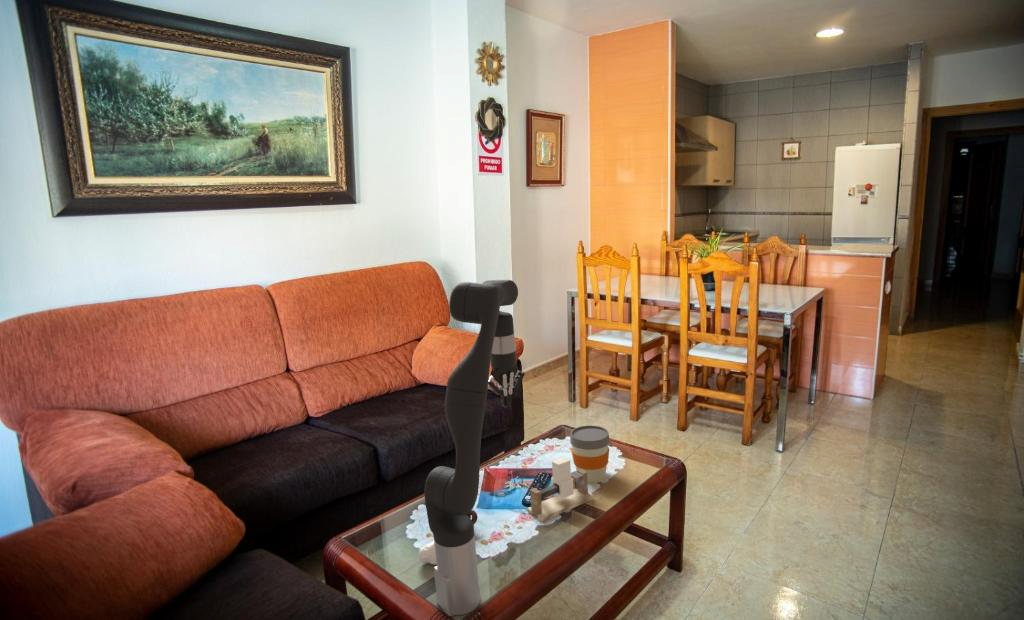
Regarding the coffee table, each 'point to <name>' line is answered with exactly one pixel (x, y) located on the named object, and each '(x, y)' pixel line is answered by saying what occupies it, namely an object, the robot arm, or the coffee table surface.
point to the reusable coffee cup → (590, 451)
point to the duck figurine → (428, 553)
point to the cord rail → (557, 504)
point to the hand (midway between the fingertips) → (506, 406)
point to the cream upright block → (562, 477)
